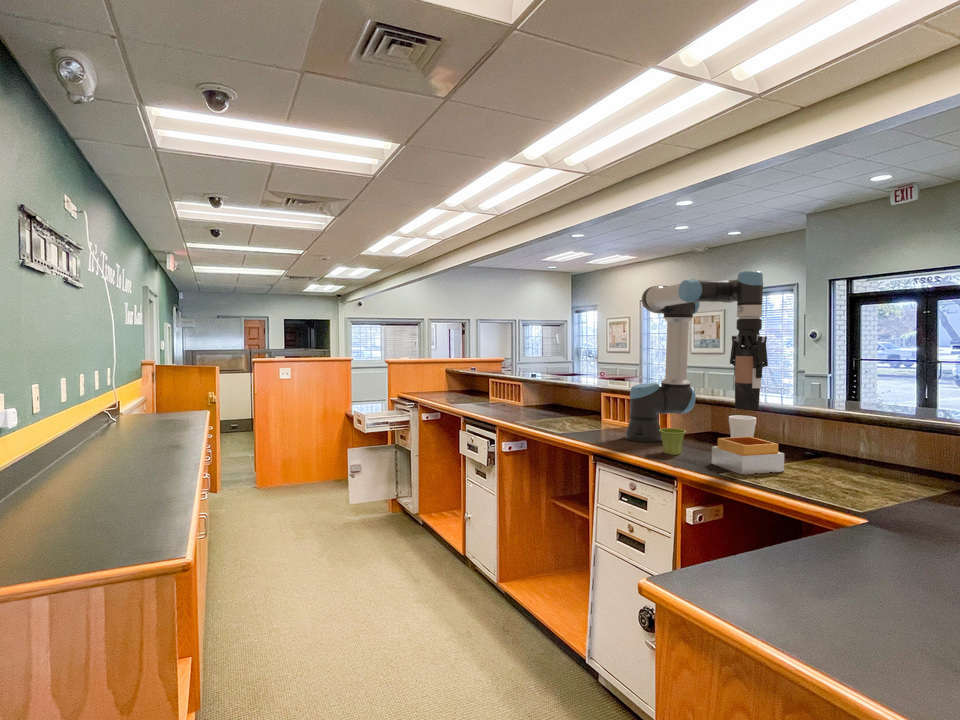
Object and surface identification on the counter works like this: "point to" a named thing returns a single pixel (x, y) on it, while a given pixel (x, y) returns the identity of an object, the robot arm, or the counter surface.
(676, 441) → the plant pot
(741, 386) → the travel mug
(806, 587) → the counter surface
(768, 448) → the grey and brown box
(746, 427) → the foam cup
